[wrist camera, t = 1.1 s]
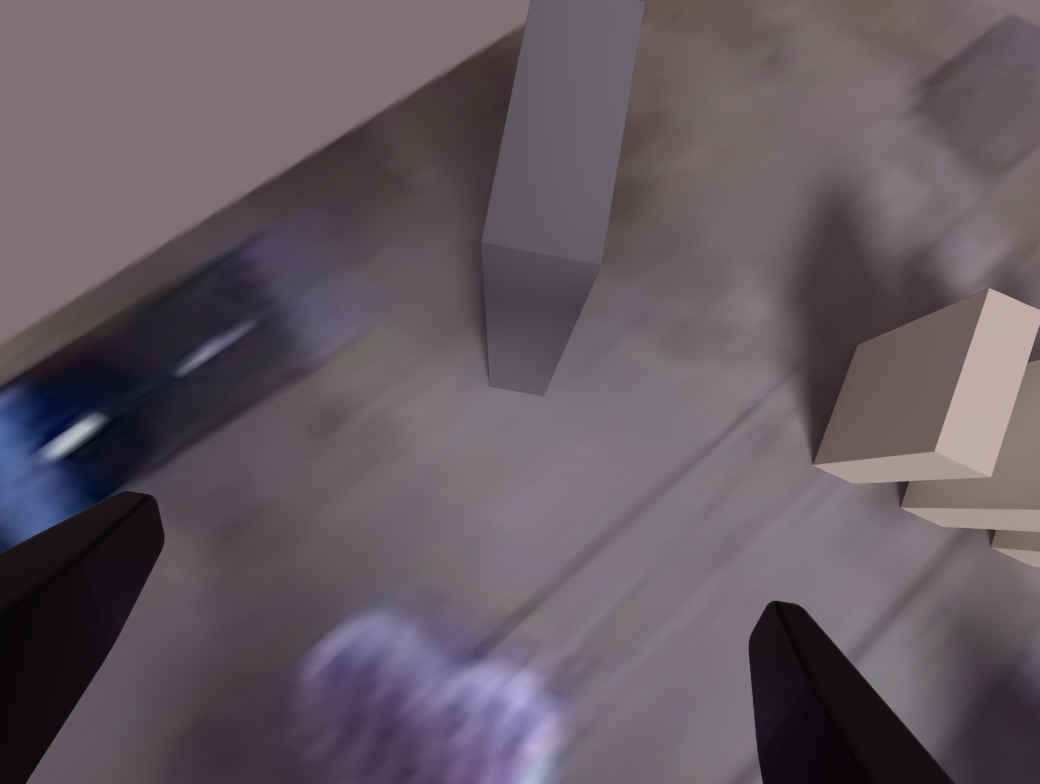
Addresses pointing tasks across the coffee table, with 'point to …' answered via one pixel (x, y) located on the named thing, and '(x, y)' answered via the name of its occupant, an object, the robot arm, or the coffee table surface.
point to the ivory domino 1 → (932, 394)
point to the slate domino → (555, 182)
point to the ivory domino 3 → (1019, 545)
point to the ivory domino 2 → (993, 477)
